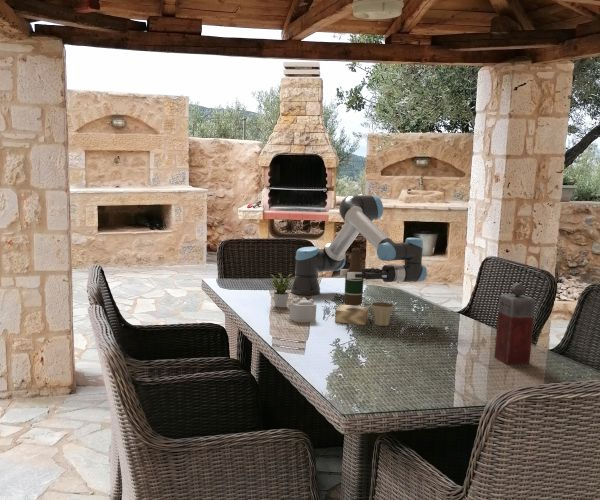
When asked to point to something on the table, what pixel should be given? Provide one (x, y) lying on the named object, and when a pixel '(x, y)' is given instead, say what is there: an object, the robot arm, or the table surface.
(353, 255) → the beer bottle
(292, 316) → the lumpy-topped squat cylinder
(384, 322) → the flower pot
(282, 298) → the house plant
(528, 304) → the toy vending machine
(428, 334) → the table surface
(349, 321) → the olive wood block
